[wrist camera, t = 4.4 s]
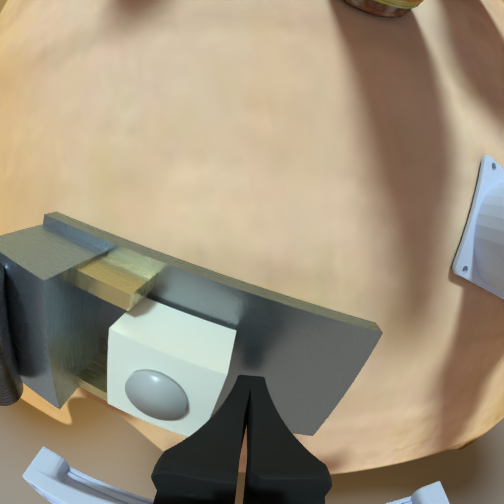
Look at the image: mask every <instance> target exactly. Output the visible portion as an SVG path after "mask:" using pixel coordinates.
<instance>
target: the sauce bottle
mask: <svg viewBox="0 0 504 504" xmlns="http://www.w3.org/2000/svg"><path fill="white" fill-rule="evenodd" d="M345 1H346V2H347V3H349V4H351V5H352V6H354V7H357V8H359V9H361V10H364V11H366V12H369V13H372V14H376V15H380V16H385V17H392V18H394V17H401V16H403V15H405V14H406V13H407V12H409V11H410V10H411V9H412V8H415V7H417V6H418V5H419V4H420V3H421V2H422V1H423V0H345Z"/></svg>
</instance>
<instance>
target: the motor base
mask: <svg viewBox="0 0 504 504" xmlns="http://www.w3.org/2000/svg"><path fill="white" fill-rule="evenodd" d="M143 297H146V298H148V299H151V300H153V301H156V302H158V303H161V304H163V305H166V306H168V307H171V308H174V309H176V310H179V311H182V312H184V313H187V314H190V315H192V316H195V317H198V318H201V319H204V320H206V321H209V322H212V323H215V324H218V325H221V326H224V327H227V328H230V329H233V330H236V335H235V340H234V345H233V350H232V355H231V359H230V364H229V369H228V374H227V377H226V379H225V382H224V384H223V387H222V389H221V392H220V394H219V397H218V399H217V402H216V404H215V406H214V409H213V411H212V415H214V414H215V412H216V411H217V410H218V409H219V407H220V406H221V405H222V404H223V402H224V401H225V399H226V398H227V396H228V395H229V393H230V392H231V390H232V388H233V386H234V384H235V382H236V380H237V377H238V375H250V376H263V377H264V378H265V381H266V385H267V388H268V391H269V394H270V396H271V399H272V401H273V403H274V405H275V407H276V409H277V411H278V413H279V415H280V416H281V418H282V420H283V421H284V423H285V424H286V426H287V427H288V429H289V430H290V431H291V433H296V434H302V435H310V436H313V435H314V434H315V433H316V431H317V430H318V429H319V428H320V426H321V425H322V424H323V423H324V421H325V420H326V419H327V418H328V416H329V415H330V414H331V412H332V411H333V410H334V408H335V407H336V406H337V404H338V403H339V401H340V400H341V399H342V397H343V396H344V394H345V393H346V391H347V390H348V389H349V387H350V386H351V384H352V383H353V381H354V380H355V378H356V377H357V375H358V374H359V372H360V370H361V369H362V367H363V366H364V364H365V362H366V361H367V359H368V358H369V356H370V354H371V353H372V351H373V349H374V347H375V346H376V344H377V342H378V341H379V339H380V337H381V335H382V331H381V330H380V328H379V327H378V326H377V324H376V323H374V322H370V321H367V320H363V319H360V318H357V317H353V316H350V315H346V314H343V313H340V312H337V311H333V310H330V309H327V308H323V307H320V306H317V305H314V304H310V303H307V302H304V301H301V300H298V299H295V298H291V297H288V296H285V295H282V294H279V293H276V292H273V291H270V290H267V289H264V288H261V287H258V286H255V285H252V284H249V283H246V282H243V281H240V280H237V279H234V278H231V277H228V276H225V275H222V274H219V273H216V272H213V271H211V270H208V269H205V268H202V267H199V266H196V265H194V264H191V263H188V262H185V261H182V260H180V259H177V258H174V257H171V256H169V255H166V254H163V253H160V252H158V251H155V250H152V249H150V248H147V247H144V246H142V245H139V244H136V243H134V242H131V241H128V240H126V239H123V238H120V237H118V236H115V235H113V234H110V233H108V232H105V231H102V230H100V229H97V228H95V227H92V226H90V225H87V224H85V223H82V222H80V221H77V220H75V219H72V218H70V217H68V216H65V215H63V214H60V213H58V212H54V213H48V214H44V222H43V225H39V226H35V227H31V228H27V229H23V230H19V231H15V232H12V233H8V234H5V235H1V236H0V406H8V405H11V404H13V403H15V402H17V401H18V400H19V398H20V397H21V395H22V393H23V383H24V384H26V385H27V386H28V387H29V388H31V389H32V390H33V391H34V392H36V393H37V394H38V395H40V396H41V397H42V398H44V399H45V400H47V401H48V402H49V403H51V404H52V405H54V406H55V407H57V408H58V409H60V408H61V407H62V406H63V405H64V403H65V402H66V401H67V400H68V399H69V397H70V396H71V395H72V394H73V393H74V391H75V390H76V389H77V388H78V387H81V388H83V389H85V390H86V391H88V392H90V393H92V394H94V395H95V396H97V397H99V398H101V399H103V400H105V401H107V358H108V337H109V328H110V327H111V326H112V325H113V324H114V323H115V322H116V321H117V320H118V319H119V318H120V317H121V316H122V315H123V314H124V313H125V312H126V311H129V310H130V309H131V308H133V307H134V306H135V305H136V304H137V303H138V302H139V301H140V300H141V299H142V298H143ZM107 402H108V401H107Z"/></svg>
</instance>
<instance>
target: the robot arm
mask: <svg viewBox="0 0 504 504" xmlns="http://www.w3.org/2000/svg"><path fill="white" fill-rule="evenodd" d="M463 268H464V270H463ZM452 270H453V272H454V273H455V274H457V275H459V276H461V277H462V278H464V279H466V280H468V281H470V282H472V283H474V284H476V285H478V286H480V287H482V288H484V289H485V290H487V291H489V292H491V293H493V294H495V295H496V296H498V297H500V298H502V299H503V300H504V169H503V168H502V167H501V166H500V165H499V164H498V163H497V162H496V161H495V160H494V159H493V158H492V157H491V156H489V155H485V156H483V158H482V162H481V168H480V173H479V178H478V183H477V187H476V192H475V196H474V200H473V204H472V207H471V211H470V215H469V218H468V221H467V225H466V228H465V231H464V234H463V237H462V240H461V243H460V246H459V249H458V252H457V254H456V257H455V260H454V262H453V265H452ZM246 425H247V466H246V477H245V487H244V497H243V504H325V498H324V497H325V495H326V494H327V493H328V492H329V490H330V489H331V487H332V480H331V477H330V474H329V471H328V469H327V467H326V465H325V464H324V463H323V462H321V461H320V460H318V459H317V458H316V457H315V456H314V455H312V454H311V453H310V452H309V451H308V450H307V449H306V448H305V447H304V446H303V445H302V444H301V443H300V442H299V441H298V440H297V439H296V438H295V436H294V435H293V434H292V433H291V431H290V430H289V429H288V427H287V426H286V424H285V423H284V421H283V420H282V418H281V416H280V415H279V413H278V411H277V409H276V407H275V405H274V403H273V401H272V399H271V396H270V394H269V391H268V388H267V385H266V381H265V378H264V377H263V376H250V375H238V377H237V380H236V382H235V384H234V386H233V388H232V390H231V392H230V393H229V395H228V396H227V398H226V399H225V401H224V402H223V404H222V405H221V406H220V407H219V409H218V410H217V411H216V412H215V414H214V415H213V416H212V417H211V418H210V419H209V420H208V421H207V422H206V423H205V424H204V425H203V426H202V427H200V428H199V429H198V430H197V431H196V432H194V433H193V434H192V435H190V436H189V437H188V438H186V439H185V440H183V441H182V442H180V443H179V444H177V445H175V446H173V447H171V448H169V449H168V450H166V451H164V453H163V454H162V455H161V457H160V458H159V460H158V462H157V463H156V465H155V467H154V470H153V473H152V475H151V478H152V481H153V483H154V485H155V487H156V489H157V493H156V496H155V499H154V500H151V499H148V498H144V497H141V496H138V495H135V494H132V493H129V492H127V491H124V490H121V489H118V488H116V487H113V486H111V485H108V484H106V483H104V482H101V481H99V480H97V479H94V478H92V477H90V476H88V475H86V474H83V473H81V472H80V471H78V470H76V469H74V468H72V467H70V466H69V465H68V463H67V462H66V460H65V459H63V458H62V457H61V456H60V455H58V454H56V453H54V452H53V451H51V450H49V449H48V448H46V447H42V449H41V450H40V451H39V453H38V454H37V456H36V457H35V458H34V460H33V461H32V463H31V464H30V466H29V467H28V468H27V470H26V471H25V473H24V474H23V478H24V479H25V480H26V481H27V482H28V483H29V484H30V485H31V486H32V487H33V488H34V489H35V490H37V492H38V493H40V494H41V495H42V496H43V497H44V498H45V499H46V500H48V501H50V502H51V503H53V504H234V503H235V495H236V486H237V477H238V468H239V459H240V453H241V448H242V443H243V439H244V434H245V429H246ZM385 504H449V501H448V499H447V496H446V494H445V492H444V490H443V487H442V485H441V483H440V481H437V482H435V483H432V484H430V485H427V486H424V487H422V488H420V489H418V490H416V491H415V492H414V493H413V494H412V495H411V496H409V497H406V498H403V499H399V500H396V501H393V502H389V503H385Z"/></svg>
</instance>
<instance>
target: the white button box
mask: <svg viewBox="0 0 504 504" xmlns="http://www.w3.org/2000/svg"><path fill="white" fill-rule="evenodd" d="M235 335H236V330H233V329H230V328H227V327H224V326H221V325H218V324H215V323H212V322H209V321H206V320H204V319H201V318H198V317H195V316H192V315H190V314H187V313H184V312H182V311H179V310H176V309H174V308H171V307H168V306H166V305H163V304H161V303H158V302H156V301H153V300H151V299H148V298H146V297H143V298H142V299H141V300H140V301H139V302H138V303H137V304H136V305H135V306H134V307H133V308H131V309H130V310H129V311H126V312H125V313H124V314H123V315H122V316H121V317H120V318H119V319H118V320H117V321H116V322H115V323H114V324H113V325H112V326H111V327H110V328H109V337H108V358H107V401H108V404H110V405H112V406H114V407H116V408H118V409H120V410H122V411H124V412H126V413H128V414H131V415H133V416H135V417H137V418H140V419H142V420H144V421H147V422H149V423H152V424H154V425H157V426H159V427H162V428H164V429H167V430H170V431H173V432H175V433H178V434H181V435H184V436H187V437H189V436H190V435H192V434H193V433H194V432H196V431H197V430H198V429H199V428H200V427H202V426H203V425H204V424H205V423H206V422H207V421H208V420H209V419H210V416H211V414H212V411H213V409H214V406H215V404H216V402H217V399H218V397H219V394H220V392H221V389H222V387H223V384H224V382H225V379H226V377H227V374H228V369H229V364H230V359H231V355H232V350H233V345H234V340H235Z"/></svg>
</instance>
